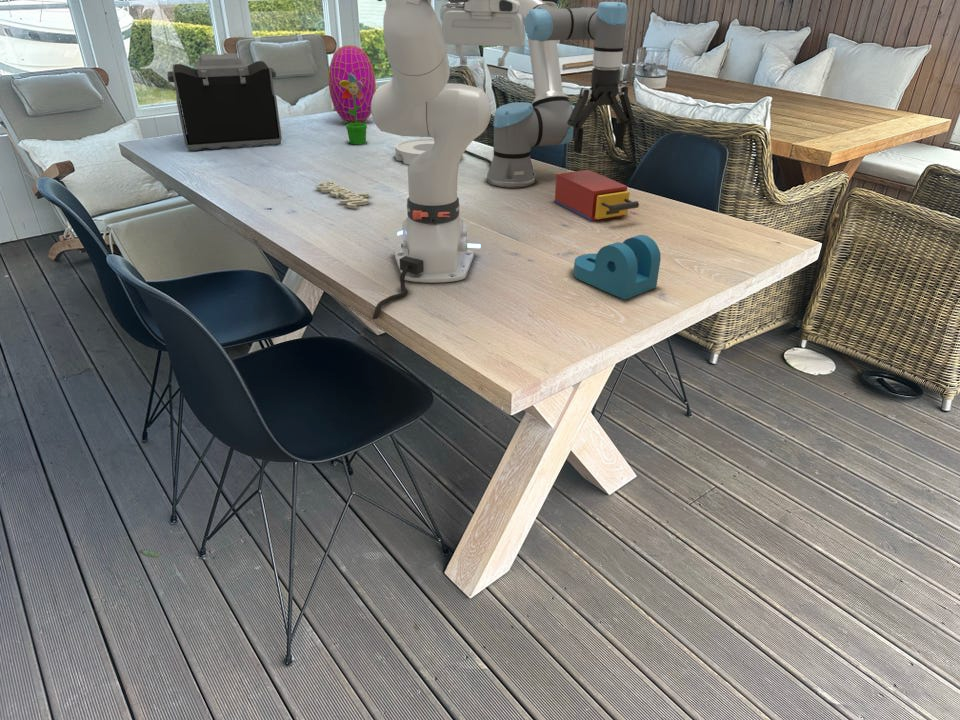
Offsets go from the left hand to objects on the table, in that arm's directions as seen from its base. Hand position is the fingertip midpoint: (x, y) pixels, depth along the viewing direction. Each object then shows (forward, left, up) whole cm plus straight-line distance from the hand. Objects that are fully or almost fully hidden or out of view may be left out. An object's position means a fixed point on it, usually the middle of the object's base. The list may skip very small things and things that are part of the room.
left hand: (482, 65), depth 170 cm
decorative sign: (+20, +40, -39) cm, 59 cm away
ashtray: (+64, +15, -39) cm, 76 cm away
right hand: (+10, -33, -23) cm, 42 cm away
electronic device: (+88, +90, -39) cm, 131 cm away
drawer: (+2, -34, -38) cm, 51 cm away
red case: (+7, -31, -39) cm, 50 cm away
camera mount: (-44, -26, -39) cm, 64 cm away
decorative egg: (+123, +47, -39) cm, 138 cm away
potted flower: (+86, +42, -39) cm, 104 cm away
